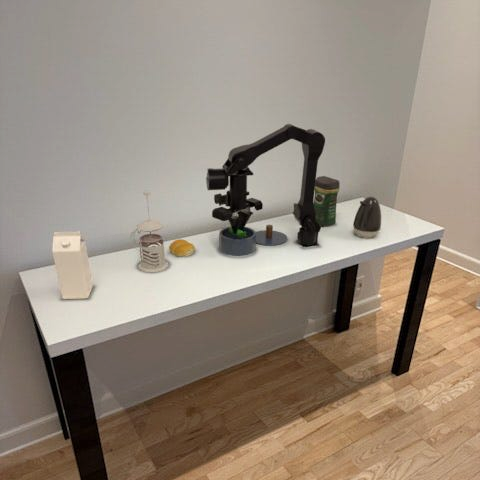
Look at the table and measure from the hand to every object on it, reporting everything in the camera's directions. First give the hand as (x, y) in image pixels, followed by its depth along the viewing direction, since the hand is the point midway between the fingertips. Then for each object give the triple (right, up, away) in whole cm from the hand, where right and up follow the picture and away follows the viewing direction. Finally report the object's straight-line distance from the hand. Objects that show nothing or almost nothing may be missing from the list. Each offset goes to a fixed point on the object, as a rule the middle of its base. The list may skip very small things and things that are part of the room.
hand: (237, 232), depth 154 cm
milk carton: (-46, -21, -25) cm, 56 cm away
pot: (0, -6, +3) cm, 6 cm away
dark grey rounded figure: (+49, +1, +16) cm, 51 cm away
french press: (-28, -12, -8) cm, 32 cm away
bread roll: (-19, -7, +1) cm, 21 cm away
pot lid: (+12, -1, +11) cm, 16 cm away
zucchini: (-1, -1, +1) cm, 1 cm away
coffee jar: (+35, +7, +28) cm, 45 cm away
